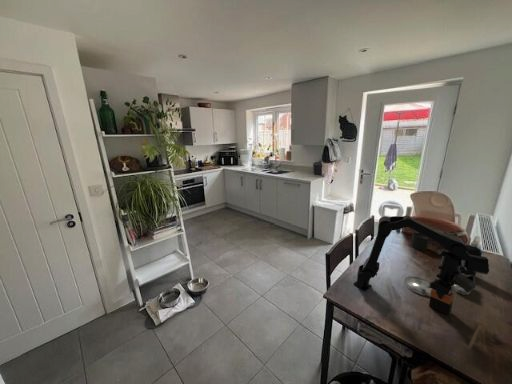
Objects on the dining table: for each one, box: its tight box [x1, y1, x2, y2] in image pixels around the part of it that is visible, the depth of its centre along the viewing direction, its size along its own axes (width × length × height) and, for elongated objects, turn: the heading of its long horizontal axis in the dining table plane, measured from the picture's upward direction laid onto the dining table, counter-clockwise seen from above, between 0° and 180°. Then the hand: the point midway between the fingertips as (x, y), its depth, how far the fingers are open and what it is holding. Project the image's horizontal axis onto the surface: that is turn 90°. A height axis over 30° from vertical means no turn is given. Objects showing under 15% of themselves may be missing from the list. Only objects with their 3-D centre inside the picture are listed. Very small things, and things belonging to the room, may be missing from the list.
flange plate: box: [404, 276, 432, 298], centre depth 106 cm, size 14×14×1 cm
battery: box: [428, 289, 455, 316], centre depth 91 cm, size 4×7×10 cm, turn 34°
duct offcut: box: [452, 273, 471, 296], centre depth 103 cm, size 10×6×6 cm, turn 134°
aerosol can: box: [459, 241, 483, 278], centre depth 111 cm, size 8×8×20 cm
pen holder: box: [410, 231, 430, 252], centre depth 141 cm, size 9×9×10 cm
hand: (442, 296), depth 91 cm, fingers closed on battery, 4 cm apart
